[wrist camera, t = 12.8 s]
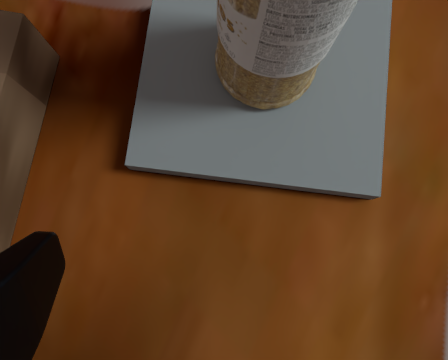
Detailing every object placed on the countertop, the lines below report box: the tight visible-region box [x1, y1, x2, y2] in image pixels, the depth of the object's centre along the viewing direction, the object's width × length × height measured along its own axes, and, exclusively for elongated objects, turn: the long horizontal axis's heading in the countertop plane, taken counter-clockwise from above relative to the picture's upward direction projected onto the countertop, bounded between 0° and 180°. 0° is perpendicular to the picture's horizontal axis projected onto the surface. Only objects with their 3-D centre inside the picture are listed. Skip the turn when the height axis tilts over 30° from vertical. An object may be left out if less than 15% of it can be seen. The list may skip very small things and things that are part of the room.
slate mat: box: [125, 0, 392, 199], centre depth 18 cm, size 11×11×1 cm
